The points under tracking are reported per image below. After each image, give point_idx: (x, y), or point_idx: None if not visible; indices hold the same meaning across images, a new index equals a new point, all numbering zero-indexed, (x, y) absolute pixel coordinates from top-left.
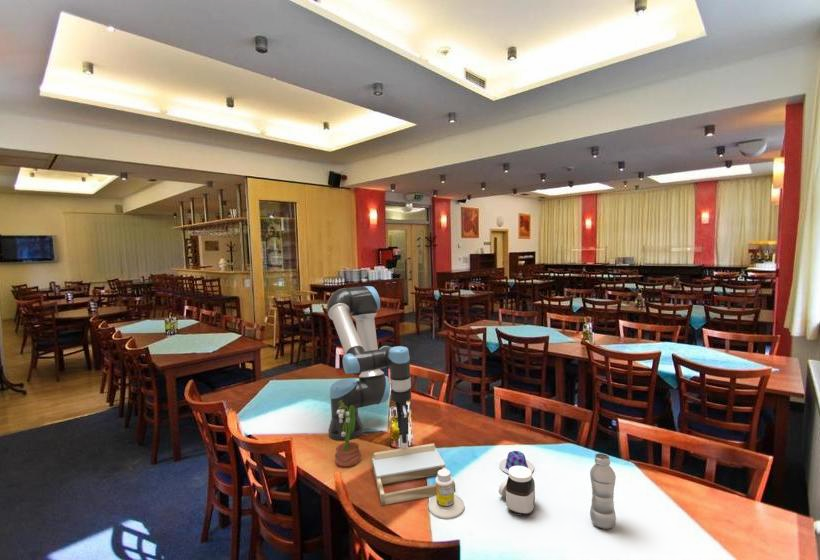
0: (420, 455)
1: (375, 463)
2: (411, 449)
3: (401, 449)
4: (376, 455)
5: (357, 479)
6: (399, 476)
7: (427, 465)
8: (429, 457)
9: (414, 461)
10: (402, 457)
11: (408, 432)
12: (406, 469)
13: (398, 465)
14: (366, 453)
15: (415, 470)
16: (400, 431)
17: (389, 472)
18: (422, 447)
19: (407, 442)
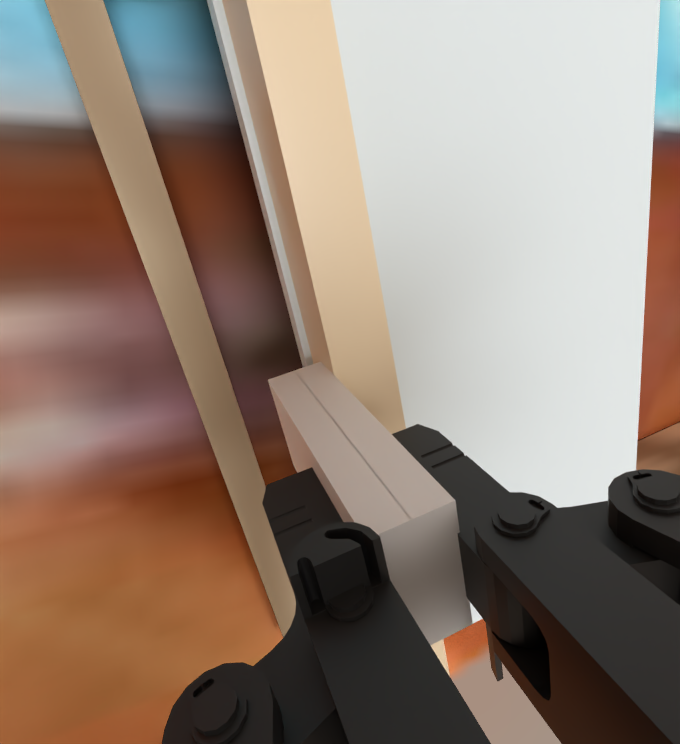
0: (401, 176)
1: (476, 610)
2: (384, 316)
3: None
4: (443, 658)
5: (464, 630)
6: None
7: (623, 93)
8: (471, 38)
9: (516, 256)
10: (415, 403)
11: (678, 489)
12: (622, 331)
13: (548, 415)
14: (92, 733)
15: (639, 240)
16: (518, 674)
17: (620, 466)
18: (352, 128)
19: (365, 410)
